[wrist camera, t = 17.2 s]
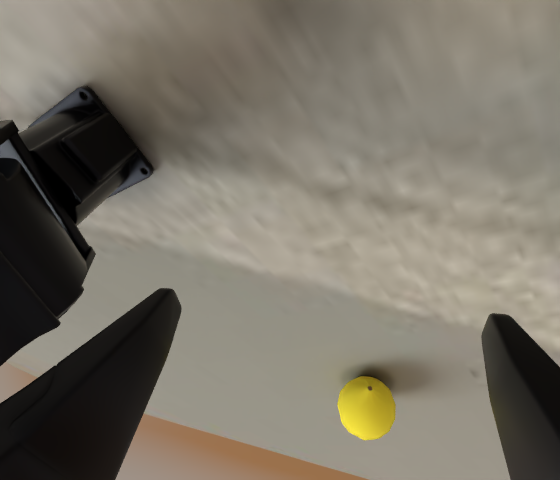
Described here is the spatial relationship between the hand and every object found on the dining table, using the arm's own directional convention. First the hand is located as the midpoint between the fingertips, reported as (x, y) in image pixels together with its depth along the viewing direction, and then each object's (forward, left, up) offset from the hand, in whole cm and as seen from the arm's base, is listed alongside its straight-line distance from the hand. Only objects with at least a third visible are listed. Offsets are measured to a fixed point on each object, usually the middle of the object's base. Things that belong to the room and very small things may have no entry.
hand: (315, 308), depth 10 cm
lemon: (-8, -25, -13) cm, 29 cm away
